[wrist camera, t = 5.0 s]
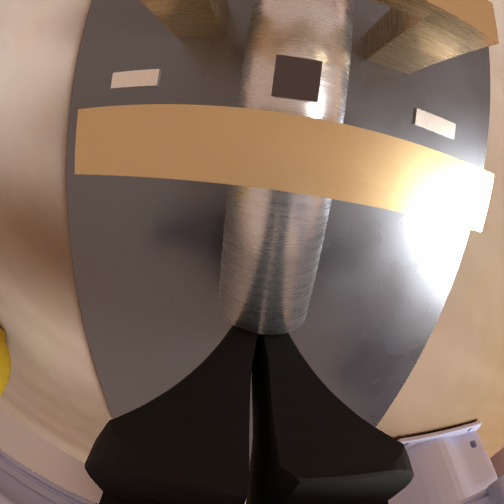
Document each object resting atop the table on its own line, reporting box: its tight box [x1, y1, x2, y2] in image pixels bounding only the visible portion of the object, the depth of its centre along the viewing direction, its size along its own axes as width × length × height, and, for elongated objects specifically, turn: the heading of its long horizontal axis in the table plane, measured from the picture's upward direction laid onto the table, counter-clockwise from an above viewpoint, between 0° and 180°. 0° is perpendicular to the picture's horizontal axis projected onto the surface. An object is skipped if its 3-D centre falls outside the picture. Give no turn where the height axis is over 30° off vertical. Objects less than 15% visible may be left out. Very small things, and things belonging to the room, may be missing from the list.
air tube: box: [218, 0, 354, 335], centre depth 7 cm, size 13×3×3 cm, turn 173°
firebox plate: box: [66, 0, 499, 454], centre depth 8 cm, size 16×25×5 cm, turn 173°
